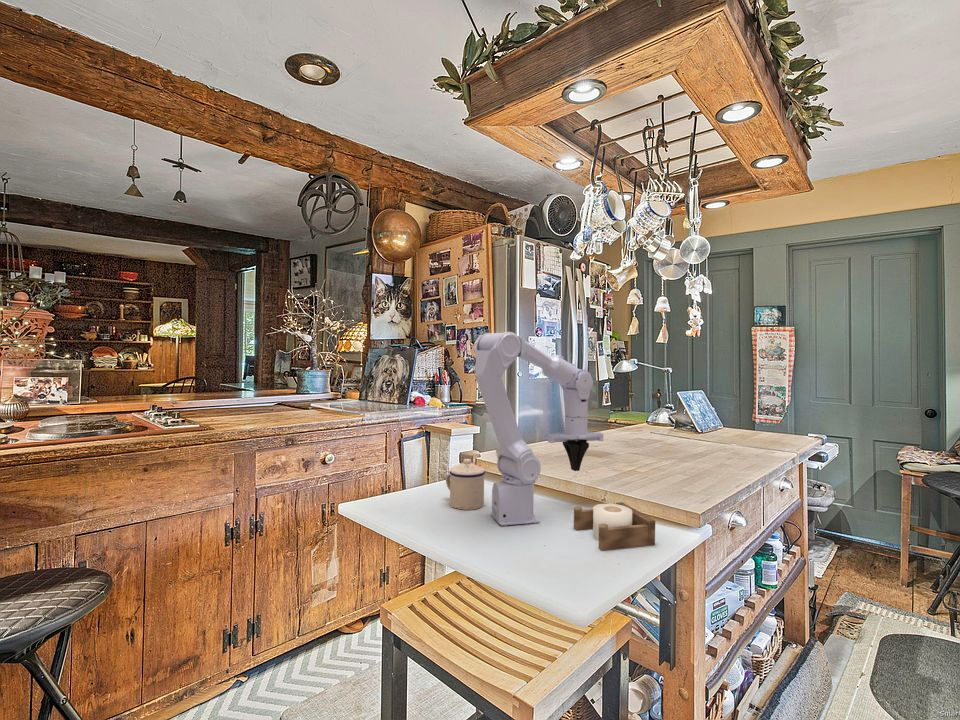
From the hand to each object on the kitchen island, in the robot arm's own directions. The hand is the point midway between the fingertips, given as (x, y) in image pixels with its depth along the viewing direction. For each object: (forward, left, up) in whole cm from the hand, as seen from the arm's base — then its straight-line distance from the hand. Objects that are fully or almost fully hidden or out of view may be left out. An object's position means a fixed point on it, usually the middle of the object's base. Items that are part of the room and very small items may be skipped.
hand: (575, 470), depth 123 cm
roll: (-1, -20, -10) cm, 22 cm away
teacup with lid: (-27, +9, -10) cm, 30 cm away
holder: (-2, -20, -9) cm, 22 cm away
